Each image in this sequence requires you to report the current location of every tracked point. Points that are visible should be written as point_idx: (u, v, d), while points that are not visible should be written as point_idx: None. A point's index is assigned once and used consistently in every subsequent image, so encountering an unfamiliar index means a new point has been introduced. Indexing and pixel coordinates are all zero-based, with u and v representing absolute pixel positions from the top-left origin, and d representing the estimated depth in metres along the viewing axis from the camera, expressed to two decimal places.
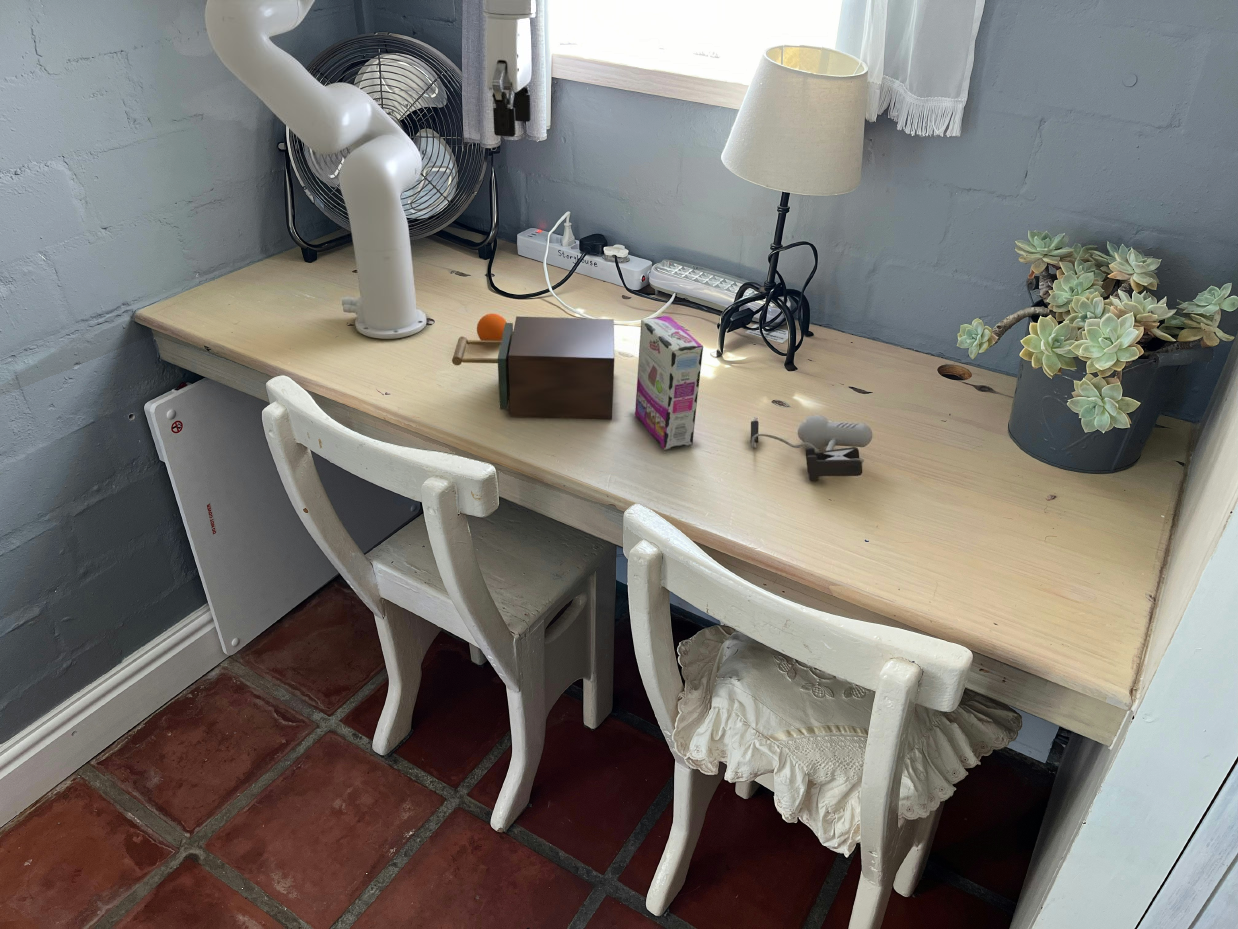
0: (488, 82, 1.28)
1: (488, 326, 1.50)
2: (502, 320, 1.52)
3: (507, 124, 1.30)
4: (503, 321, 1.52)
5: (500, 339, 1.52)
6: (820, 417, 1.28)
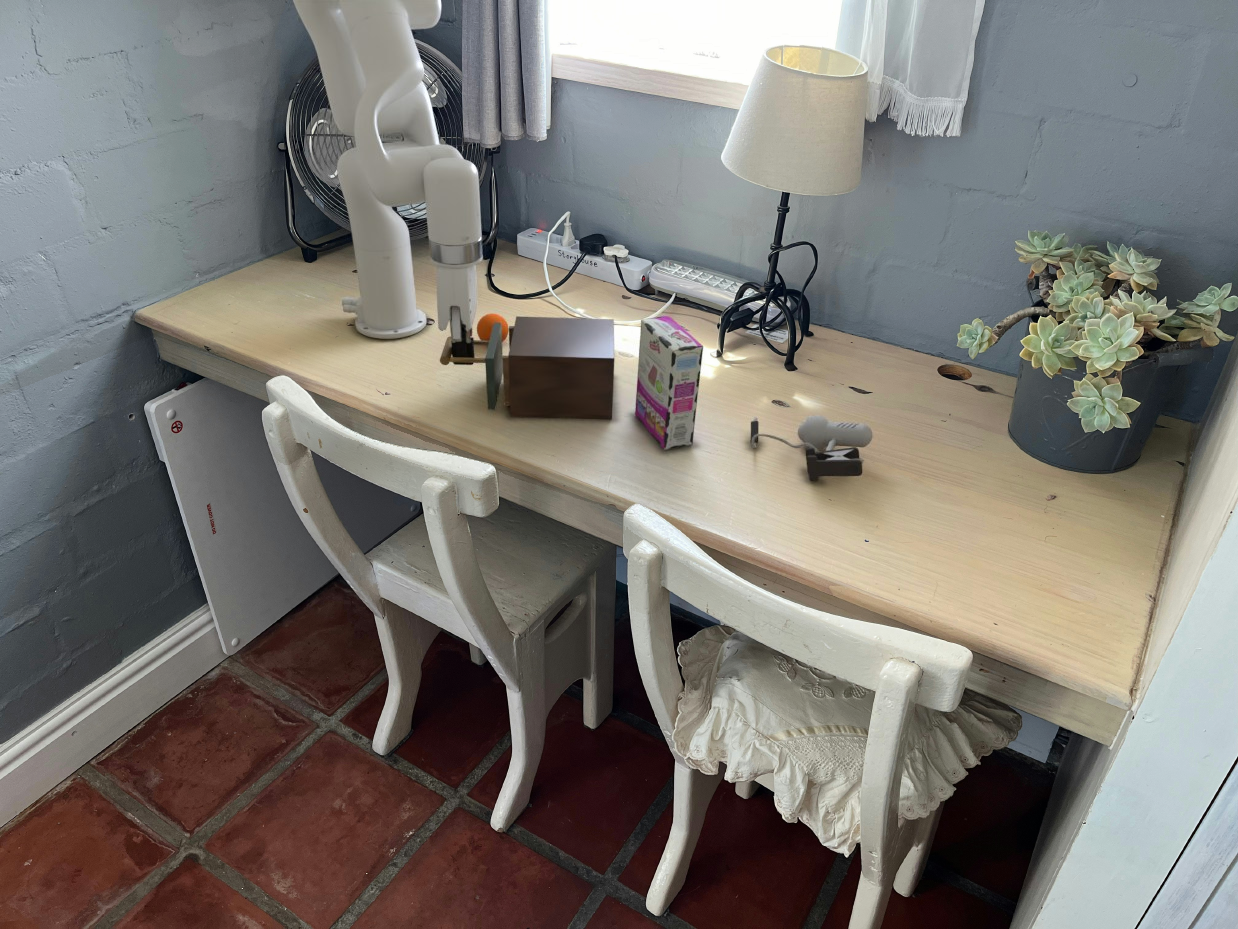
0: (441, 325, 1.27)
1: (488, 326, 1.50)
2: (502, 320, 1.52)
3: (466, 356, 1.34)
4: (503, 321, 1.52)
5: None
6: (820, 417, 1.28)
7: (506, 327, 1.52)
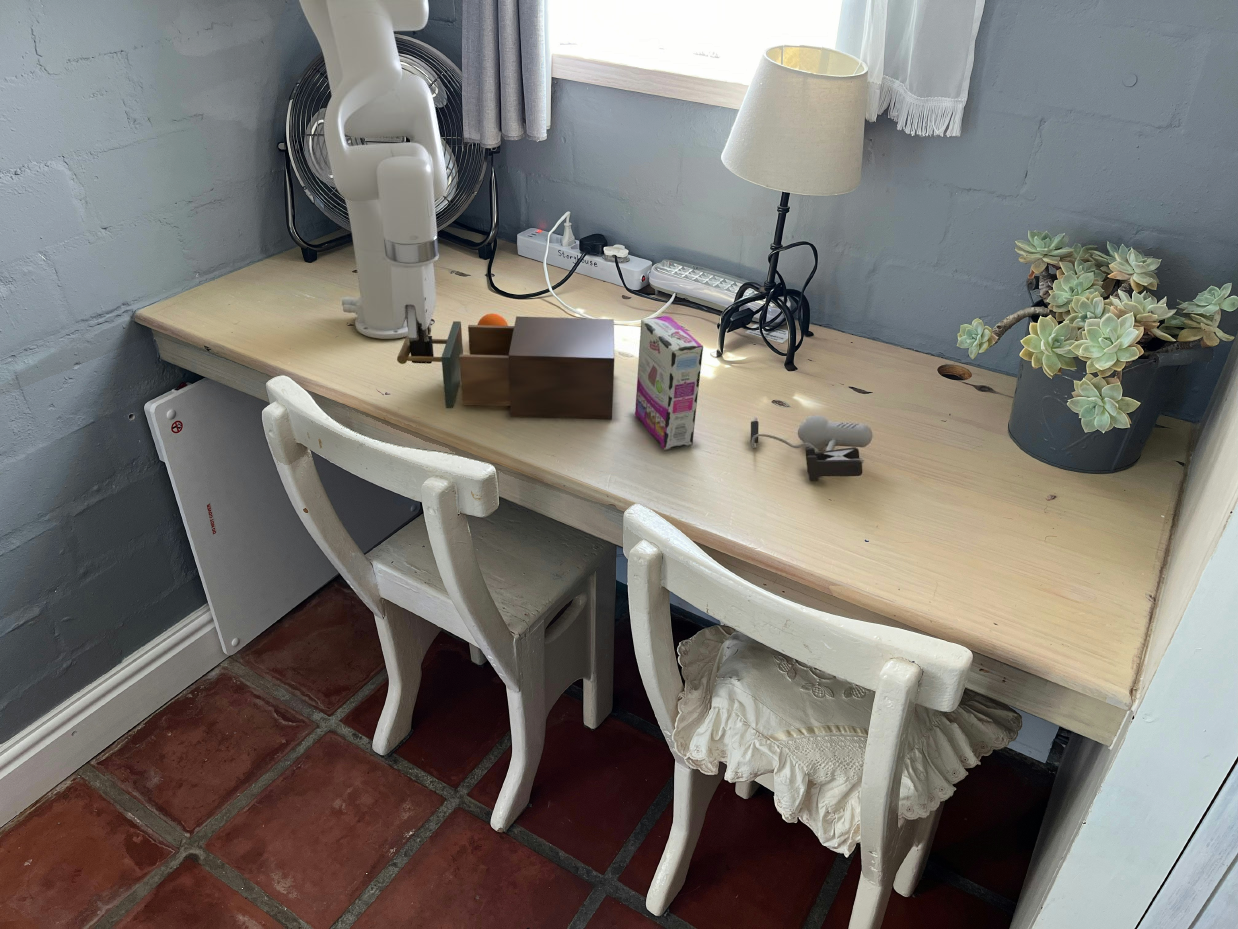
0: (396, 324, 1.27)
1: None
2: (502, 320, 1.52)
3: (424, 355, 1.34)
4: (503, 321, 1.52)
5: None
6: (820, 417, 1.28)
7: None
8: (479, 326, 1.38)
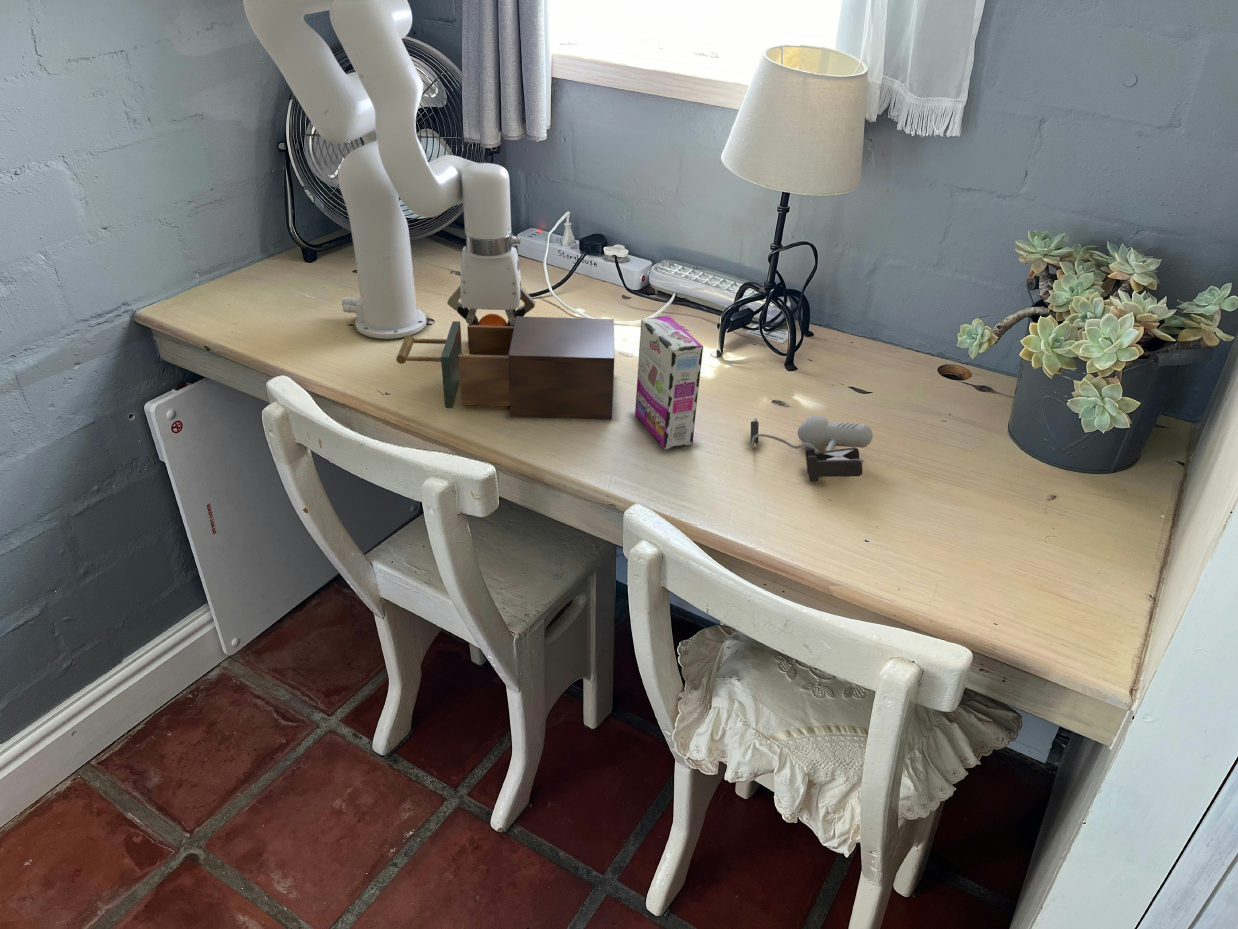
0: None
1: None
2: (502, 320, 1.52)
3: None
4: (503, 321, 1.52)
5: None
6: (820, 417, 1.28)
7: None
8: (478, 326, 1.38)
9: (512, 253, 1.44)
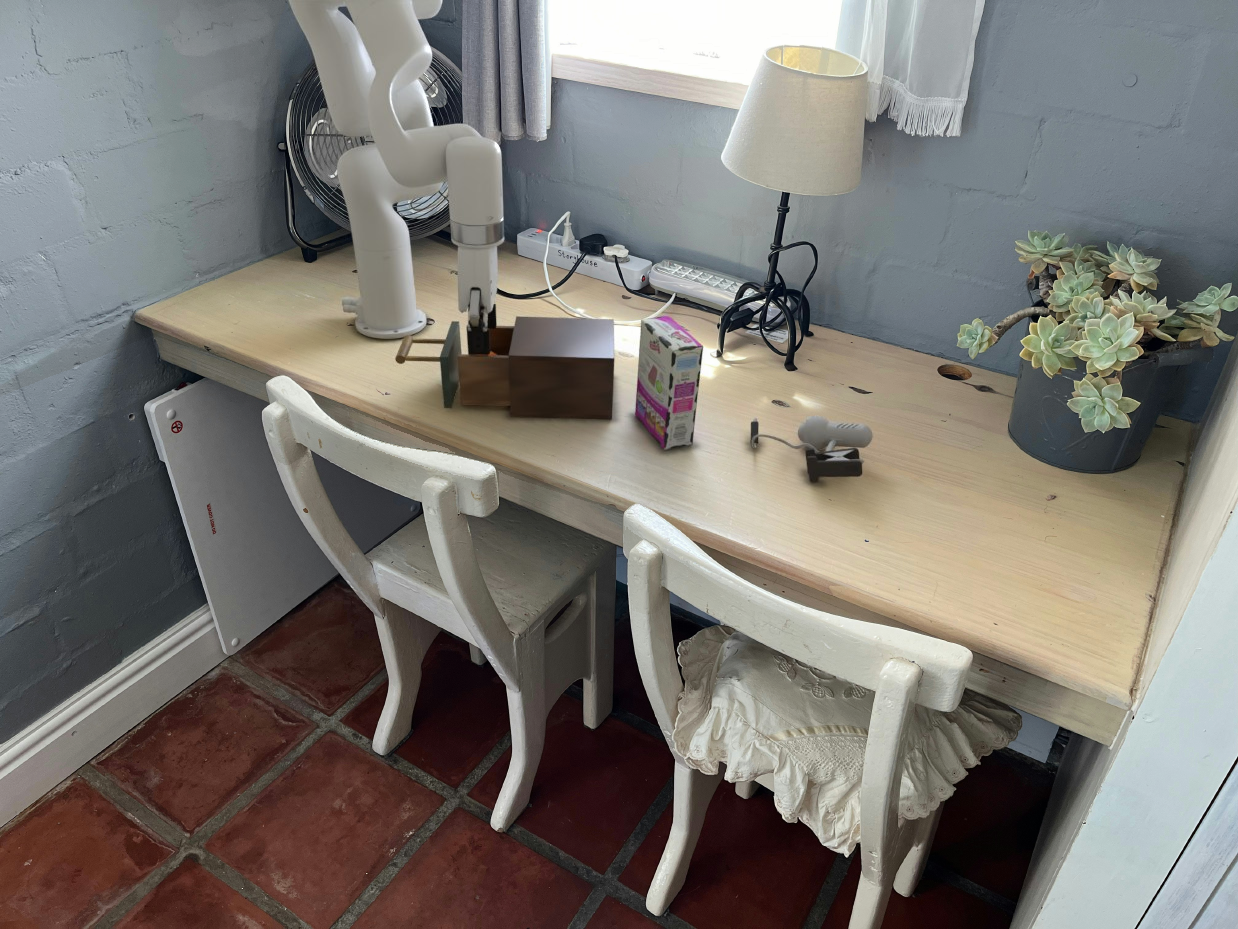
0: (461, 307, 1.26)
1: None
2: None
3: (482, 345, 1.29)
4: None
5: None
6: (820, 418, 1.28)
7: None
8: None
9: None
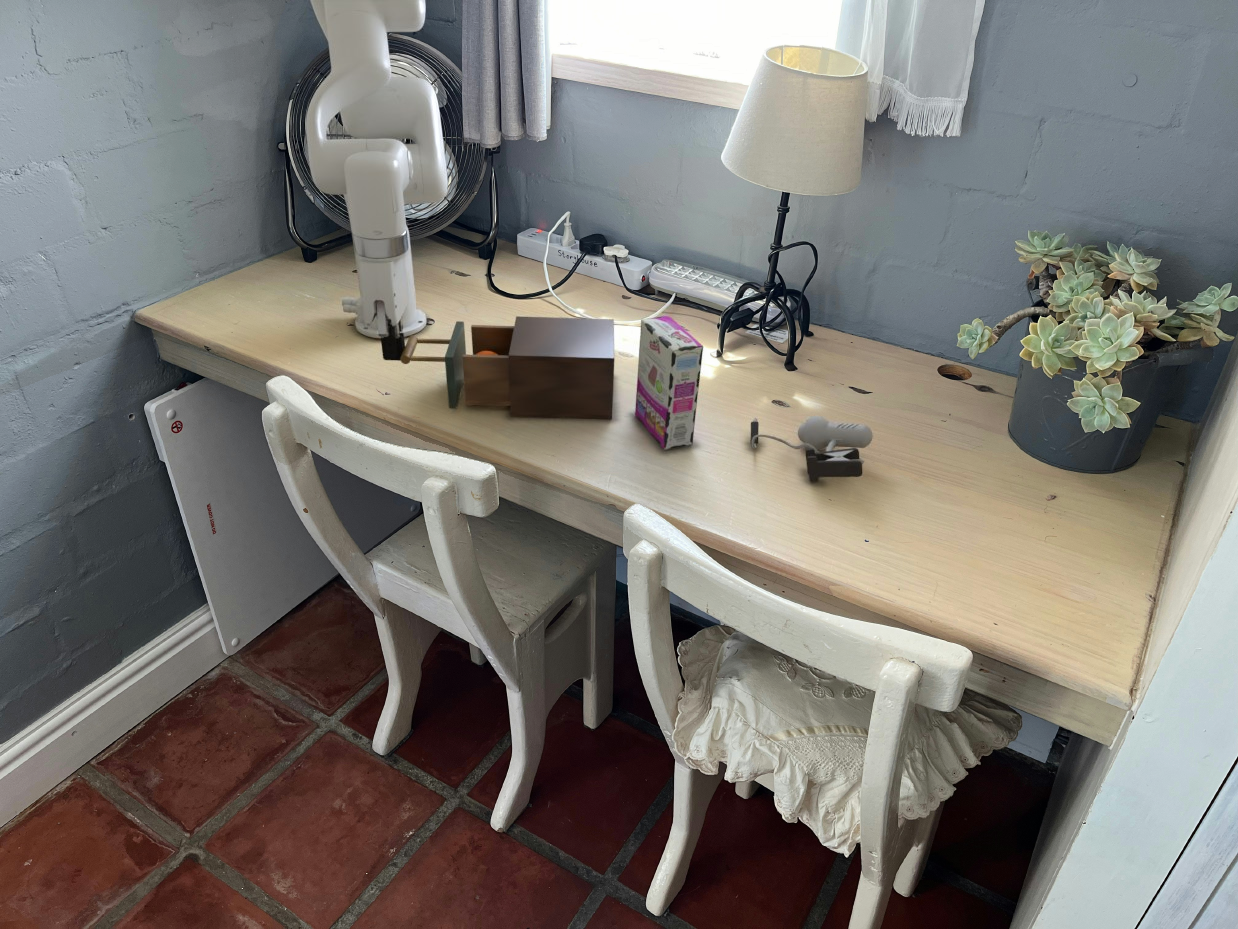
0: (366, 319, 1.27)
1: None
2: None
3: (396, 351, 1.33)
4: None
5: None
6: (820, 418, 1.28)
7: None
8: (482, 326, 1.38)
9: None
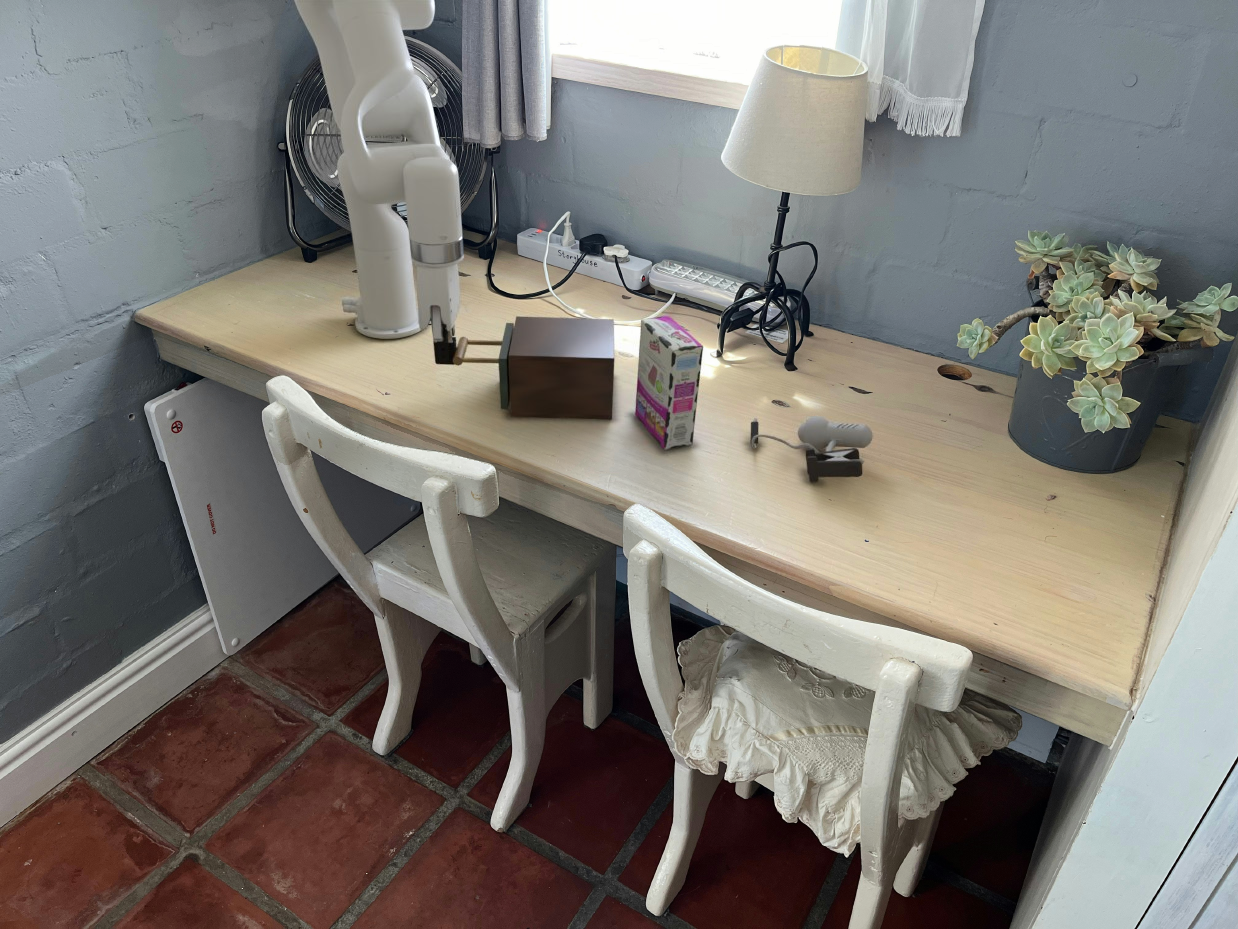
0: (421, 324, 1.27)
1: None
2: None
3: (448, 356, 1.34)
4: None
5: None
6: (820, 418, 1.28)
7: None
8: None
9: None
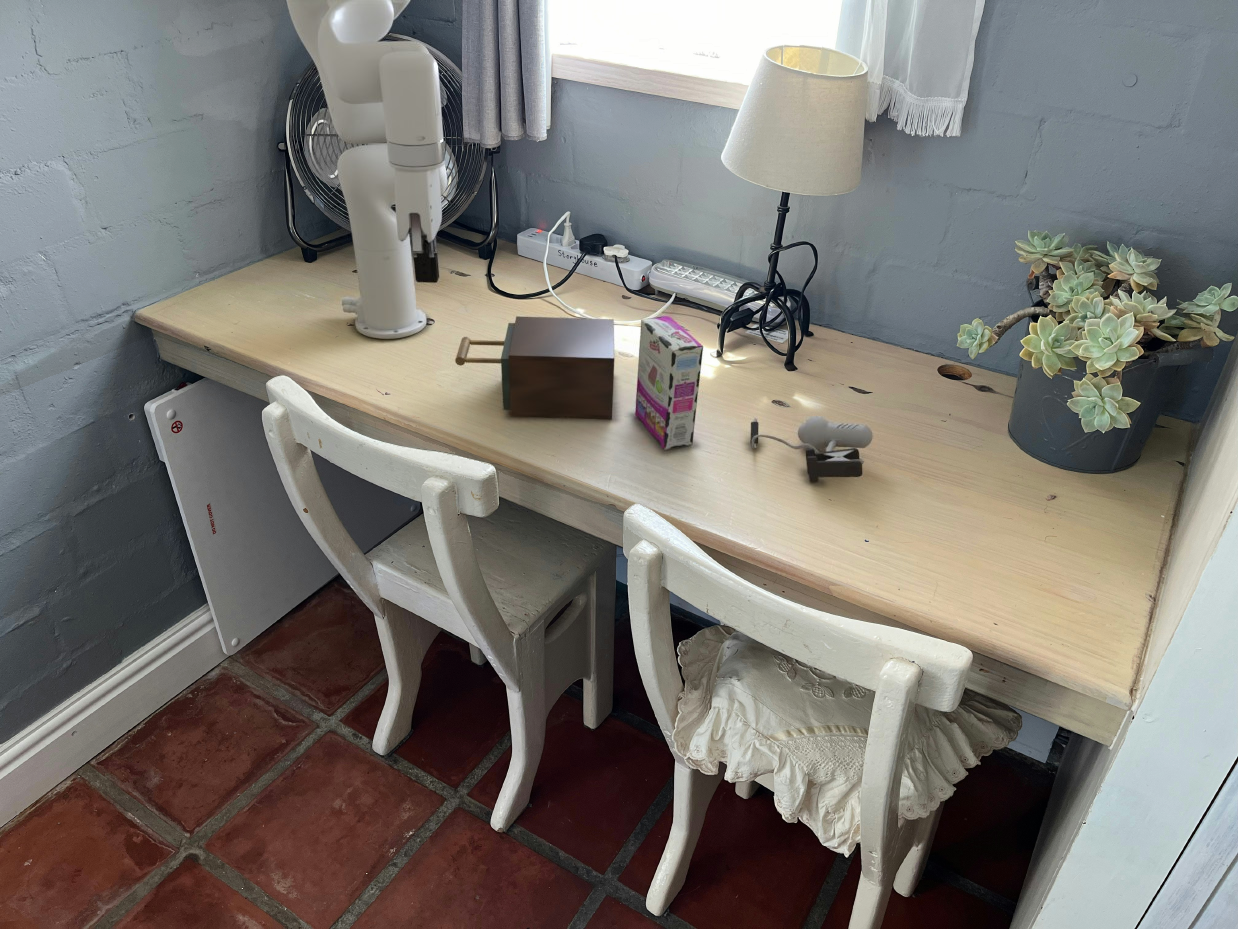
0: (400, 234, 1.20)
1: None
2: None
3: (429, 272, 1.26)
4: None
5: None
6: (820, 418, 1.28)
7: None
8: None
9: None
